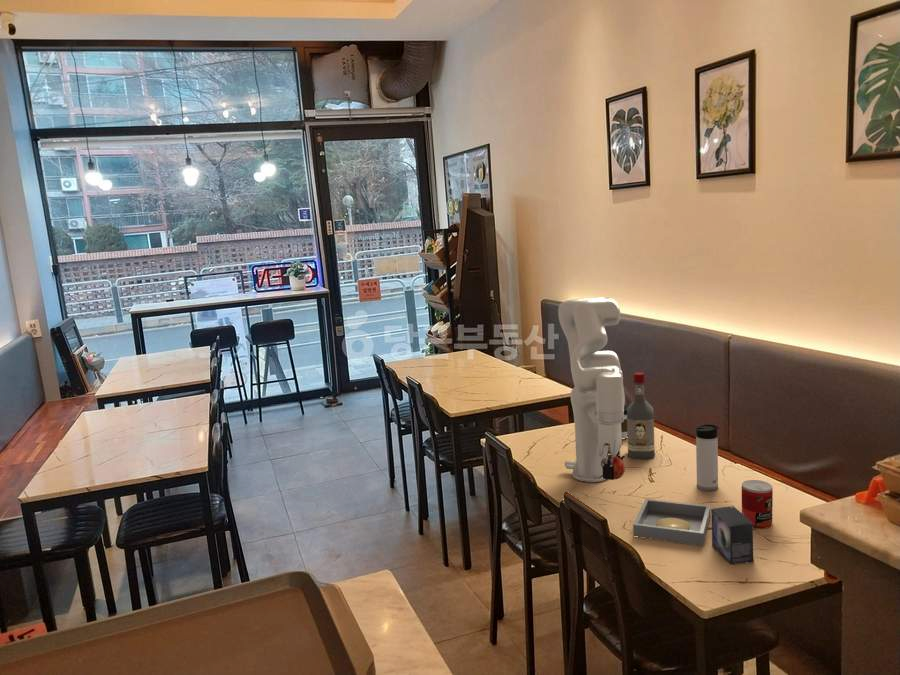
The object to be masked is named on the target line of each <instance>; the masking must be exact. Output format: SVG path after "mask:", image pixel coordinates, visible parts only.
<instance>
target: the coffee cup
mask: <svg viewBox="0 0 900 675" xmlns="http://www.w3.org/2000/svg"><path fill="white" fill-rule="evenodd" d="M629 405H630V403H629V404H628V403H625V405H624V421H623V422H622V423H621V431H622V438H627V409H628V407H629Z"/></svg>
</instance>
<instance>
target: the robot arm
mask: <svg viewBox="0 0 900 675" xmlns="http://www.w3.org/2000/svg"><path fill="white" fill-rule="evenodd" d="M557 310H558V312H557V314H558V321H559V324H560V327H561V329H562V331H563V334H564V335H565V338H566V341H567V345H568V353H569V359H570V360H569V361H570V371H571V376H572V381H573V385H574V387H572V389H571V391H570V403H571V406H572V412H573V421H574V438H575V456H576V457H575V458H576V459H575V460H574V461H571V460H565V461H564V467H565V468H566V469H568V470H572V472H571V474H572V477H573V479H575V480H577V481H579V480H580V482H583V481H585V482H586V483H599V482H604V481H606V480H610V481H611V480H612V481H614V480H615V479H614V466H613V459H614V457H615V456H617V457H622V456H621V448H622V444H623V443H622V442H623V441H622V440H623V439H622V431H621V423H622V422H623V421H624V405H625V404H626V394H625V387H624V375H623V371H622V368H621V363H620V359H619V356H618V355H617V353H616V352H614V351H613V350H602V349H603V348H605V346H606V345H607V344H608V341H609V339H608V335H607V332H606V328H605V327H606V326H616V325H617V324H619V322H620V320H621V309H620V307H619V304H618V302H617V301H616V300H615V299H614V298H611V297H605V296H604V297H603V296H601V297H588V298H575V299H568V300H565V301H563V302H561V303H560V304H559V306H558V309H557ZM610 455H612V456H610ZM608 458H611V462H610V460H608ZM602 459H603V461H602ZM601 461H602V462H603V463H602V466H601ZM602 475H603V476H602ZM600 476H602V477H601V478H600V479H599V477H600ZM585 482H584V483H585Z"/></svg>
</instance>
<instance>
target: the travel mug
mask: <svg viewBox="0 0 900 675" xmlns="http://www.w3.org/2000/svg"><path fill="white" fill-rule="evenodd" d="M719 427H720V426H719V425H718V424H709V423H707V424H702V425H701V424H700V425H698V426H696V428H695V433H696V434H695V449H696V450H695V451H696V452H695V455H696V456H695V458H696V460H695V461H696V487H697V489H699V490H701V491H705V492H706V491H707V492H710V491H711V492H712V491H715V490H718V488H719V459H718V457H719V455H718V454H719V450H718V448H719V447H718V446H719V444H718V442H719V440H718V438H719V437H718V429H720V428H719Z"/></svg>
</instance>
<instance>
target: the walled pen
mask: <svg viewBox="0 0 900 675" xmlns="http://www.w3.org/2000/svg"><path fill="white" fill-rule="evenodd" d="M711 506H712V505H707V504H706V505H705V504H700V503H699V504H698V503H696V504H695V503H689V502H688V503H687V502H681V501H679V502H678V501H670V500H662V499H661V500H660V499H650V498H645V499H644V501H643V503H642V505H641V507H640V510H639V512H638V513H637V515H636V518H635V520H634V521H633V524H632V526H633V528H632V530H633V534H632V535H633V536H638V537H637V538H640V537H645V538H644V539H647V538H652V539H651V540H655V539H657V540H656V541H662V540H663V541H664V540H665V541H664V542H670V541H671V543H677V542H678V544H685V543H686V545H692V544H693V546H699V547H701V546H702V547H704V545H705V541H706V537H707V533H708V529H709V526H710V522H711V519H712V518H711V509H712V508H711ZM633 536H632V537H633ZM658 539H659V540H658Z"/></svg>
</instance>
